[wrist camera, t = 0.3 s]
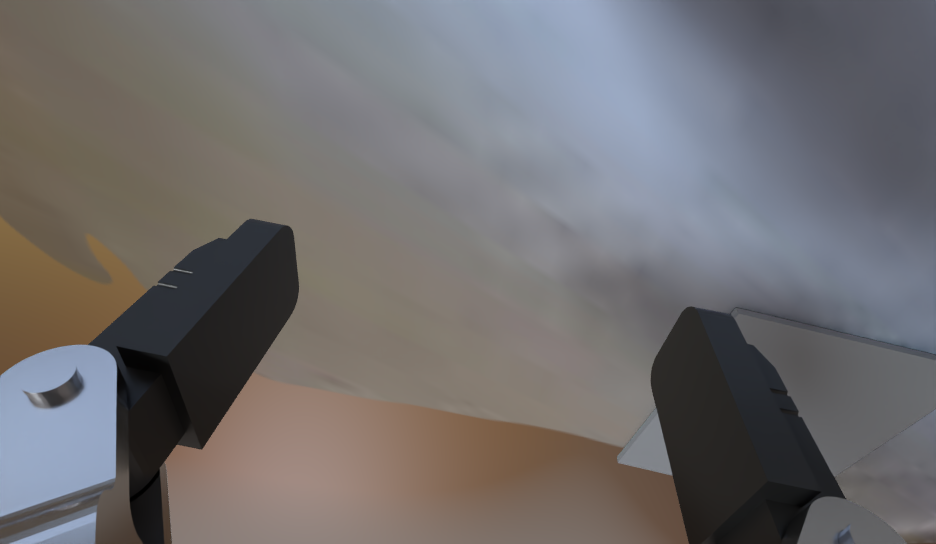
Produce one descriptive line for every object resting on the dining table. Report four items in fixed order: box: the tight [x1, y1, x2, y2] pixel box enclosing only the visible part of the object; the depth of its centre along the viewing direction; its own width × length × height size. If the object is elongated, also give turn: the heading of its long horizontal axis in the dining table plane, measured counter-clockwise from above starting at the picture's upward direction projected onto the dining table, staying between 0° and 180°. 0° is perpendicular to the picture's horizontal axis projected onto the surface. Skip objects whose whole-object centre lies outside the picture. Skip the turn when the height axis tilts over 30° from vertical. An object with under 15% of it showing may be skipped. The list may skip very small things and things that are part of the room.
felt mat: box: [617, 308, 936, 477], centre depth 36 cm, size 20×17×1 cm
